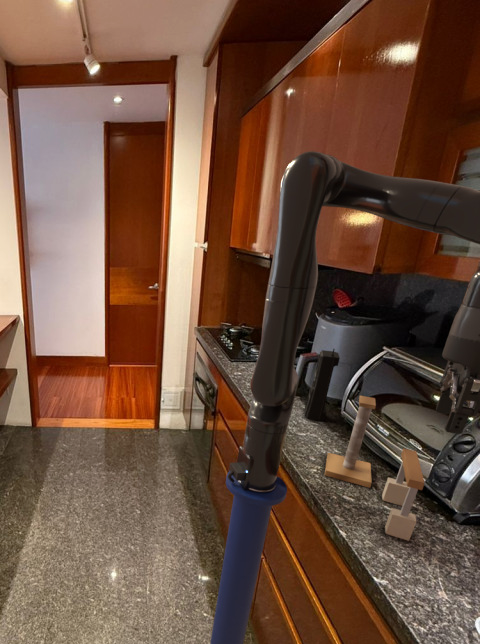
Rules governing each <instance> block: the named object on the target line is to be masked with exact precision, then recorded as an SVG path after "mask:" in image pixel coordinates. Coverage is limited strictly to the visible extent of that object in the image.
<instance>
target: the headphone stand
mask: <svg viewBox="0 0 480 644" xmlns="http://www.w3.org/2000/svg"><path fill="white" fill-rule="evenodd" d="M376 406H377V404H376V398H375V397H372V396H371V397H369V396H365V395H359V397H358V410H357V414H356V418H355V420H354V424H353V427H352V431H351V435H350V439H349V442H348V446H347V449H346V452H345V456H343V455H339V454H335V453H331V452H327V456H326V461H325V467H324V468H325V471H324V476H326V477H329V478H332V479H335V480H340V481H343V482H348V483H351V484H355V485H358V486H362V487H364V488H365V487H366V488H368V489H370V488H371V486H372V481H373V480H372V465H371V462H367V461H363V460H360V459H358V458H359V454H360V451H361V447H362V444H363V441H364V437H365V433H366V430H367V428H368V424H369V420H370V417H371V413H372V411H373V410H376Z"/></svg>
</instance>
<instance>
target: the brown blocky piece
mask: <svg viewBox="0 0 480 644" xmlns="http://www.w3.org/2000/svg"><path fill="white" fill-rule="evenodd" d="M400 456H401V464H400V467H399V470H398V472H397V475H396V478H392V477H387V479H386V481H385V482H386V483H385V486H384V489H383V491H382V494H381V498H382V501H383V502H387V503H391V504H394V505H396V506H397V505H398V506H401V509H398V508H394V507H391V509H390V512H389V514H388V517H387V520H386V523H385V526H384V529H385V531H384V532H385V534H386V535H389V536H392V537H394V538H398V539H401V540H404V541H407V542H410V540H411V537H412V534H413V531H414V529H415V526H416V524H417V521H418V520H417V517H416V514H415V513H411V512H410V511H411V509H412V506H413V504H414V502H415V499H416V496H417V494H418V491H423V489H424V486H425V483H426V482H425V479H424V475H423V471H422V467H421V463H420V459H419V456H418V452H417V451H416V450H412V449H408V448H402V451H401V455H400Z"/></svg>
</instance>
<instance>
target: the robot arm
mask: <svg viewBox="0 0 480 644" xmlns="http://www.w3.org/2000/svg"><path fill="white" fill-rule="evenodd" d="M278 200H279V201H278V202H279V203H278V219H277V231H276V239H275V243H274V249H273V255H272V261H271V267H270V272H269V277H268V282H267V283H268V284H267V289H266V293H265V300H264V308H263V309H264V310H263V317H262V318H263V319H262V327H261V328H262V329H261V340H260V347H259V352H258V356H257V359H256V362H255V366H254V369H253V373H252V376H251V380H250V383H249V384H250V385H249V387H250V392H251V395H252V400H251V403H250V407H249V410H248V412H247V417H246V423H245V430H244V436H243V442H242V446H239V447H238V451H237V458H236V462H229V469H228V472H229V471H230V473H229V475H228V478H229V480H230V481H231V482H232V483H233V482H235V480H234V479H233V478H232V477H231V476H232V475H233V476H234V478H235V479H236V481H238V482H239V484H240V485H241V486H242V488H243V489H244V490H249V491H252V492H256V493H270V492H272V491H273V490H274V489H275V487H276V480H277V477H278V475H279V470H280V464H281V460H282V455H283V450H284V445H285V440H286V436H287V431H288V427H289V423H290V419H291V416H292V412H293V408H294V403H295V398H296V395H297V389H298V386H299V375H298V372H297V370H296V369H295V360H296V355H297V349H298V347H299V344H300V341H301V339H302V336H303V334H304V331H305V329H306V326H307V323H308V321H309V319H310V318H309V317H310V315H311V312H312V308H313V304H314V299H315V295H316V290H317V285H318V277H319V265H318V253H317V230H318V225H319V222H320V221H319V220H320V217H321V213H322V208H323V207H326V208H327V207H328V208H340V209H341V208H342V209H349V210H355V211H359V212H363V213H367V214H371V215H373V216H376V217H379V218H382V219H385V220H387V221H389V222H393V223H396V224H398V225H399V224H400V225H403V226H406V227H410V228H413V229H417V230H422V231H425V232H430V233H434V234H439V235H444V236H453V237H455V238H458V239H462V240H464V241H468V242H470V243H474V244H477V245H480V190H479V189H475V188H472V187H468V186H463V185H458V184H454V183H447V182H442V181H437V180H430V179H422V178H413V177H405V176H404V177H403V176H394V175H393V176H392V175H385V174H380V173H375V172H371V171H368V170H365V169H361V168H358V167H356V166H353V165H351V164H349V163H346V162H344V161H341V160H339V158H337V157H335V156H333V155H331V154H327V153H325V152H321V151H316V150H315V151H314V150H309V151H305V152H302V153H300V154H298V155H297V156H295V157H294V158H293V159H292V160H291V161H290V162H289V164H288V165H287V166H286V168H285V170H284V172H283V175H282V178H281V181H280V186H279V199H278ZM441 356H442V358H443V359H444V360H446V361H447V362H446V366H445V368H444V371H443V374H442V377H441V380H440V381H439V387H440V389H439V390H440V396H439V398H438V402H437V404H436V407H435V411H436V412H437V413H439V414H444V415H448V417H447V420H446V423H445V426H444V431H445V432H446V433H451V434H456V435H461V434H463V432H464V430H465V427H466V425H467V422H468V420H469V417H470V416H472V417H476V416H477V415H478V414H479V410H480V260H479V261H478V265H477V267H476V270H475V271H474V272H473V274H472V275H471V277H470V279H469V281H468V285H467V287H466V289H465V292H464V295H463V298H462V301H461V304H460V306H459V309H458V310H457V312H456V314H455V316H454V319H453V321H452V324H451V326H450V330H449V332H448V336H447V338H446V341H445V344H444V347H443V350H442V354H441ZM465 402H467V406H464V404H465Z"/></svg>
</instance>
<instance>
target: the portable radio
mask: <svg viewBox="0 0 480 644" xmlns="http://www.w3.org/2000/svg"><path fill="white" fill-rule="evenodd" d="M335 350H336V349H335V348H333V349H332V350H323V349H322V350H321V351H320V352H319V354H318V359H317V362H316V367H315V371H314V378H313V381H312V383H311V385H310V387H309V393H308V396H307V399H306V403H305V406H304V410H303V411H304V413H303V414H304V415H303V416H304V417H305V418H306V419H307V420H313V421H319V422H320V421H321V422H324V421H325V420H326V415H327V409H326V402H327V399H328V398H327V397H328V393H329V388H330V384H331V381H332V378H333V377H332V376H333V373H334V368H335V367H338V366H339V363H340V359H341V358H340V354H339V352H338V351H335Z"/></svg>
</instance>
